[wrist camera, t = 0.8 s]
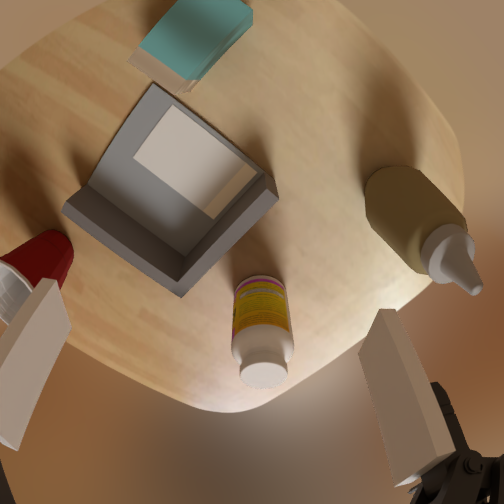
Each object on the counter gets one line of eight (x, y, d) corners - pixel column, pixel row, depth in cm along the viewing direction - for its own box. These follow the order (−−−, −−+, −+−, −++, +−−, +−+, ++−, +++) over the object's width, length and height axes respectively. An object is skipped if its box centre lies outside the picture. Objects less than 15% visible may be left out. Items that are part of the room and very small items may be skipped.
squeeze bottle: (395, 232, 35) (469, 339, 20) (341, 206, 34) (406, 319, 18) (429, 176, 31) (530, 260, 16) (376, 143, 30) (480, 216, 14)
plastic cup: (20, 208, 33) (-35, 255, 23) (84, 215, 34) (33, 271, 24) (34, 274, 38) (-7, 328, 28) (94, 286, 39) (58, 349, 29)
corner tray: (83, 192, 32) (60, 211, 28) (154, 83, 26) (135, 85, 22) (188, 270, 38) (181, 298, 33) (274, 180, 32) (279, 199, 27)
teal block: (190, 91, 27) (173, 95, 21) (152, 63, 25) (126, 61, 19) (252, 25, 24) (253, 9, 18) (212, -4, 22) (202, -25, 16)
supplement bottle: (227, 279, 39) (219, 361, 28) (280, 267, 38) (291, 348, 27) (242, 318, 42) (240, 398, 31) (291, 307, 41) (302, 388, 30)
